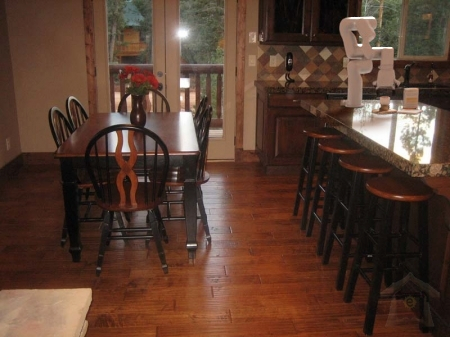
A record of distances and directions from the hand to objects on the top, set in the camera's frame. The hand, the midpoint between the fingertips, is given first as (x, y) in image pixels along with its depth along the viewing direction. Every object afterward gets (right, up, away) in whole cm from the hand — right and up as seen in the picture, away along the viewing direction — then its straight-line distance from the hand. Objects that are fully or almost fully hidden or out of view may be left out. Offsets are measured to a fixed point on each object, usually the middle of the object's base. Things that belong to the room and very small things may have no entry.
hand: (385, 95), depth 290 cm
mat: (+14, -11, -3) cm, 18 cm away
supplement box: (+20, -7, +13) cm, 25 cm away
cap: (0, -5, +2) cm, 5 cm away
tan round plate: (0, -10, +3) cm, 10 cm away
